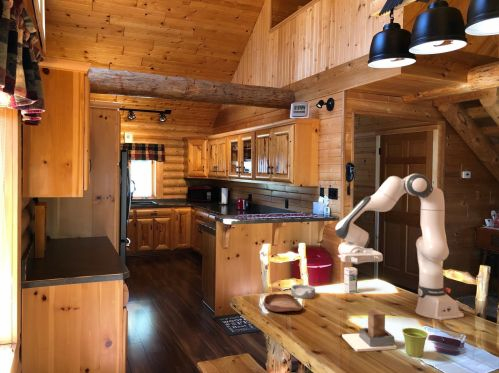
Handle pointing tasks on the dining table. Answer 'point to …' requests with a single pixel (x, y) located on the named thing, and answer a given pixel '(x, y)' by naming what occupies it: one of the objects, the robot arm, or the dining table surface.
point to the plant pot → (414, 341)
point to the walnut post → (376, 323)
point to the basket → (281, 303)
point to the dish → (303, 291)
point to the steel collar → (376, 338)
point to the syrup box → (350, 280)
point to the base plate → (363, 343)
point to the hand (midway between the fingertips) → (368, 260)
